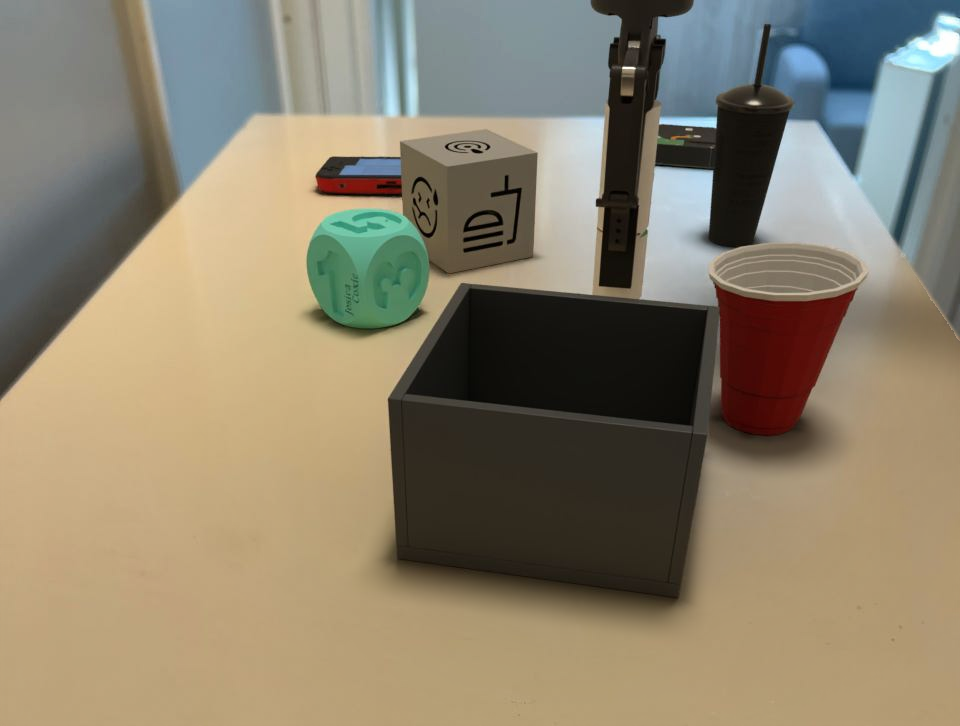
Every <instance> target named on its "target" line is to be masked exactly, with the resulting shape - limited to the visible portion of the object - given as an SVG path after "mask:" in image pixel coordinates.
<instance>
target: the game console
mask: <svg viewBox="0 0 960 726" xmlns="http://www.w3.org/2000/svg"><path fill="white" fill-rule="evenodd" d="M315 179H316V180H315V181H316V183H317V187H318V189H319V190H320V191H322V192H323V193H325V194H332V195H402V181H401V157H400V156H339V155H338V156H336V155H335V156H330V157H329V158H328V159H327V160H326V161H325V163H324V164H322V166H321V167H320V168H319V169H318V171H317V172H316V174H315Z"/></svg>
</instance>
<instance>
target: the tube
mask: <svg viewBox="0 0 960 726" xmlns="http://www.w3.org/2000/svg"><path fill="white" fill-rule="evenodd" d="M661 108H662V102H661V101H659V100H658V99H656V100H654V106H653V108H652V110H650V111H649V112H647V114H646V121H645V132H644V141H643V150H642V159H641V169H640V178H639V187H638V198H639V202H638V205H639V212H638V222H637V233H636V244H635V254H634V265H633V275H632V286H631V289H627V288H614V287H601V286H599V274H600V260H601V247H602V233H603V219H604V207H597V221H596V234H595V235H596V236H595V237H596V238H595V251H594V264H593V265H594V266H593V278H592V279H593V280H592V294H591V295H599V296H610V297H621V298H631V299H641V297H642V296H643V285H644V275H645V266H646V254H647V247H648V237H649V230H648V227H649V225H650V217H651V207H652V196H653V187H654V181H653V179H654V180H655V168H656V164H655V159H656V149H657V140H658V130H659V124H660V119H661V110H662V109H661ZM609 109H610V108H609V106H608V99H607V100H606V101H605V108H604V121H603V136H602V149H601V150H602V151H601V163H600V164H601V165H600V178H599V191H598V198H602V194H603V193H604V181H605V167H606V152H607V138H608V124H609Z"/></svg>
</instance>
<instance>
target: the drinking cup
mask: <svg viewBox="0 0 960 726" xmlns="http://www.w3.org/2000/svg"><path fill="white" fill-rule="evenodd" d="M771 30H772V24H771V23H764V24H763V30H762V34H761V39H760V40H761V41H760V47H759V53H758V58H757V64H756V71H755V76H754V83H749V84H747V83H746V84H741V85H738V86H735V87H733V88H730V89H729V90H726V91H724V92H721V93H719V94H717V95H716V96H715V105H716V106H717V110H716V112H717V113H716V126H715V128H716V138H715V153H714V167H713V168H712V170H713V171H712V183H711V197H710V210H709V211H710V212H709V224H708V226H709V227H708V239H709V241H710V242H712V243H714V244H716V245H719V246H725V247H732V248H733V247H735V248H739V247H743V246H750V245H753V243H754V241H755V237H756V235H757V231H758V226H759V223H760V219H761V215H762V212H763V208H764V205H765V202H766V197H767V195H768V190H769V186H770V184H771V180H772V176H773V172H774V169H775V165H776V162H777V158H778V155H779V151H780V148H781V143H782V141H783V137H784V134H785V130H786V125H787V122H788V118H789V116H790V112H791V111H792V110H793V109H794V106H795V100H794V99H793V98H792V97H791V96H788V95H786V94H785V93H784V92H783V91H781V90H780V89H777V88H776V87H773V86H770V85H767V84H762V83H763V82H762V81H763V76H764V70H765V64H766V58H767V53H768V46H769V42H770V41H769V40H770V35H771Z"/></svg>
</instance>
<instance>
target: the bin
mask: <svg viewBox="0 0 960 726" xmlns="http://www.w3.org/2000/svg"><path fill="white" fill-rule="evenodd" d="M719 325H720V307H718V305H717V306H716V305H715V306H714V305H705V304H695V303H684V302H673V301H664V300H663V301H662V300H651V299H643V298H642V299H641V298H639V299H631V298H621V297H610V296H599V295H593V294H589V293H588V294H587V293H577V292H576V293H575V292H567V291H566V292H565V291H555V290H545V289H544V290H543V289H532V288H523V287H511V286H500V285H490V284H480V283H479V284H478V283H469V282H468V283H467V282H461V283H459V285H458V287H457V289H456V290H455V291H454V293H453V295H452V296H451V298H450V300H449V301H448V302H447V304H446V305H445V307H444V309H443V310H442V312H441V314H440V316H439V317H438V318H437V320H436V322H435V323H434V325H433V326H432V328H431V330H430V331H429V333H428V334H427V336H426V337H425V339H424V340H423V342H422V344H421V345H420V347H419V348H418V350H417V351H416V353H415V354H414V356H413V358H412V360H411V361H410V363H409V364H408V366H407V367H406V369H405V370H404V372H403V373H402V376H401V377H400V378H399V380H398V382H397V383H396V385H395V386H394V388H393V390H392V391H391V392H390V394H389V396H388V398H387V409H388V410H387V411H388V427H389V443H390V444H389V445H390V462H391V463H390V464H391V479H392V496H393V512H394V513H393V514H394V529H395V530H394V531H395V532H394V533H395V546H396V558H397V559H399V560H406V561H411V562H412V561H413V562H421V563H426V564H427V563H428V564H435V565H442V566H448V567H454V568H455V567H457V568H463V569H469V570H470V569H471V570H479V571H485V572H491V573H498V574H506V575H514V576H520V577H521V576H522V577H527V578H535V579H541V580H549V581H557V582H563V583H570V584H578V585H586V586H592V587H599V588H605V589H613V590H620V591H621V590H622V591H627V592H634V593H642V594H647V595H655V596H664V597H671V598H676V599H677V598H680V594H681V593H680V592H681V588H682V582H683V576H684V571H685V565H686V560H687V554H688V549H689V542H690V537H691V533H692V531H691V530H692V526H693V519H694V514H695V508H696V504H697V497H698V492H699V487H700V486H699V485H700V480H701V475H702V470H703V463H704V457H705V451H706V447H707V440H708V435H709V426H710V415H711V414H710V413H711V406H712V405H711V404H712V394H713V383H714V373H715V363H716V353H717V343H718V334H719Z"/></svg>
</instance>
